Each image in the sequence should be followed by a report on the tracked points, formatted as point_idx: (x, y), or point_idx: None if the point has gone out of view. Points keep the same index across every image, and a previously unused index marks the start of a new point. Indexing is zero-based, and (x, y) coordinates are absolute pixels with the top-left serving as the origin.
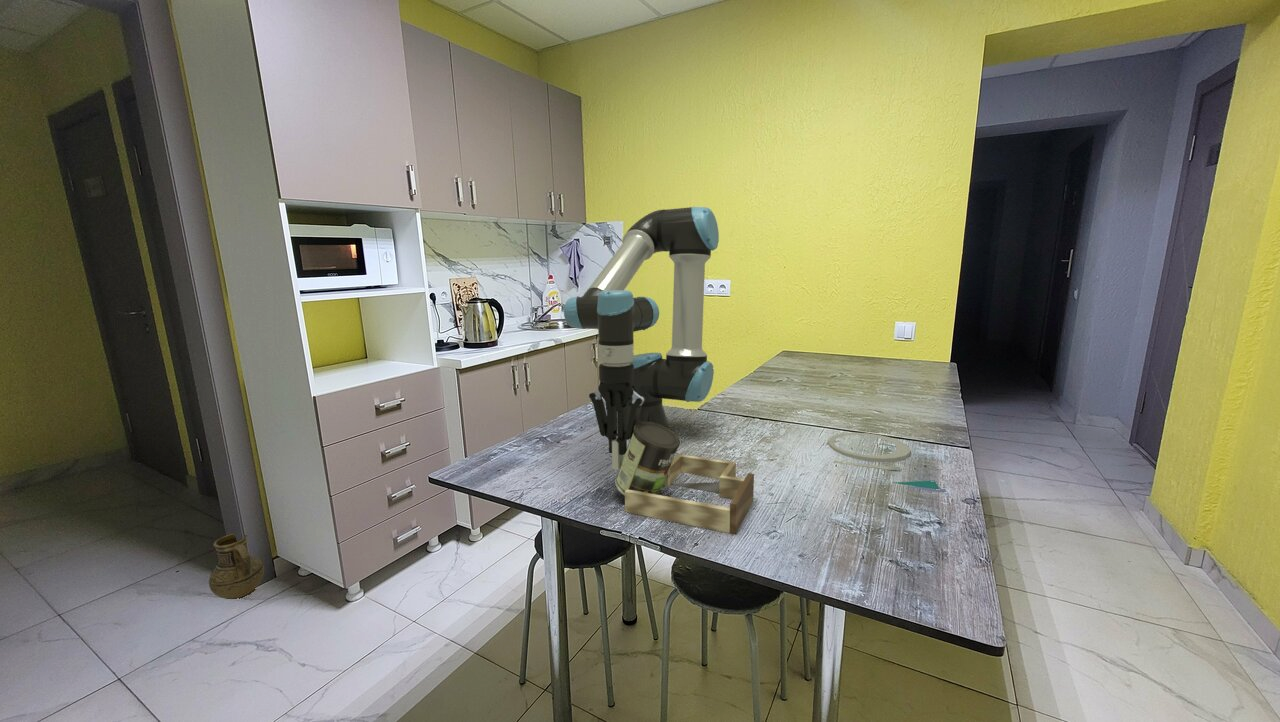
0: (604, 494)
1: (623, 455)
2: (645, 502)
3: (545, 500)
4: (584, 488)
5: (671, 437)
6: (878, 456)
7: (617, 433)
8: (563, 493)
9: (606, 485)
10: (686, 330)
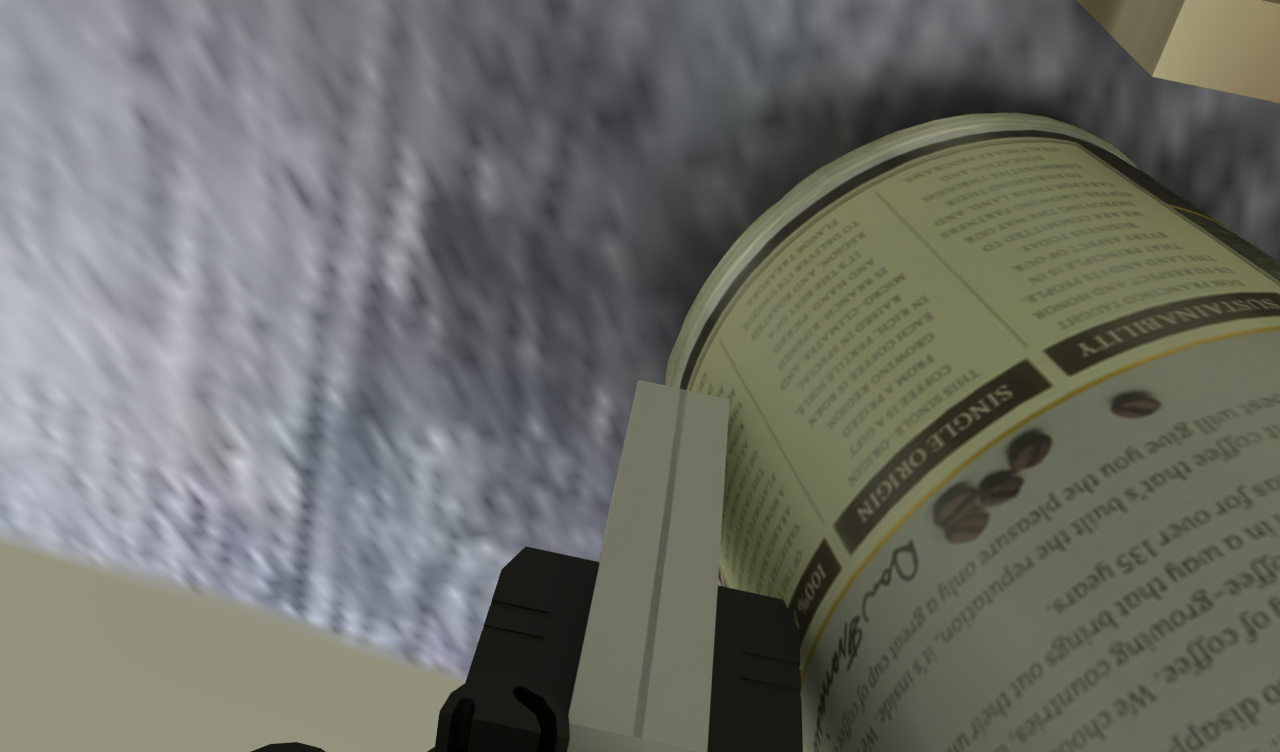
0: (554, 330)
1: (722, 496)
2: None
3: (102, 499)
4: (289, 232)
5: None
6: None
7: (530, 737)
8: (158, 365)
9: (489, 117)
10: None
